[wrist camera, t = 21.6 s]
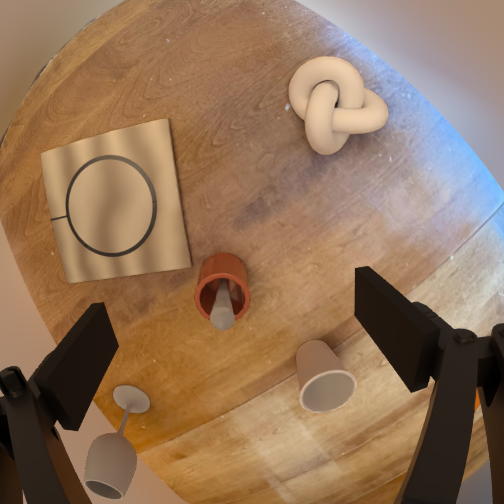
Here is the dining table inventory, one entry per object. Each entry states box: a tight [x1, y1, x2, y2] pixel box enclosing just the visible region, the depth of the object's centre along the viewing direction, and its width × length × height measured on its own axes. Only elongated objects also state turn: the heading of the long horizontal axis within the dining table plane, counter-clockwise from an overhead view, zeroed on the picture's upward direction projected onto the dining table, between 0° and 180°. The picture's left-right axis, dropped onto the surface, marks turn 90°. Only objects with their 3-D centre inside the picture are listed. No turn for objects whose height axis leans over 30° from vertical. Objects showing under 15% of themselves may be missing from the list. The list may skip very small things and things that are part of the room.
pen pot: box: [194, 253, 251, 321], centre depth 39 cm, size 6×6×8 cm
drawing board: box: [41, 118, 192, 284], centre depth 38 cm, size 20×20×1 cm
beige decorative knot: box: [288, 56, 389, 155], centre depth 33 cm, size 11×12×9 cm
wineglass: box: [84, 385, 150, 500], centre depth 39 cm, size 8×8×21 cm
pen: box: [210, 278, 235, 330], centre depth 35 cm, size 2×3×14 cm
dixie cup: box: [296, 340, 357, 413], centre depth 43 cm, size 8×8×10 cm
